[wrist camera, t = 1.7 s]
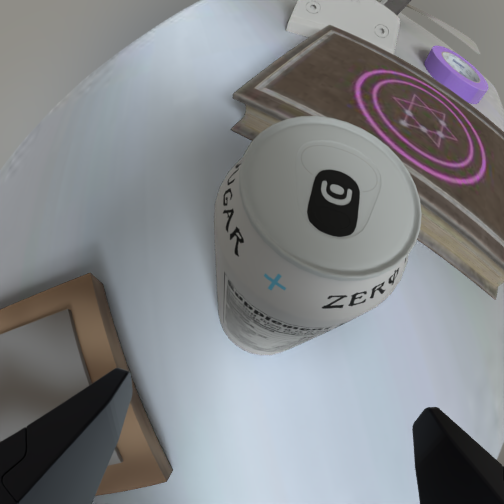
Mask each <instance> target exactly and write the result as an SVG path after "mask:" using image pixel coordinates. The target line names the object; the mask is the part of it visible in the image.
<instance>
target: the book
mask: <svg viewBox="0 0 504 504" xmlns="http://www.w3.org/2000/svg"><path fill="white" fill-rule="evenodd" d="M233 99H235V100H238V101H240V102H242V103H244V104H246V112H245V116H244V117H243V118H242V119H241V120H240V121H239V122H238V123H237V124H236V125H235V126H234V127H233V128H231V130H232V131H234V132H236V133H238V134H240V135H242V136H244V137H246V138H248V139H250V140H252V141H253V140H254V139H255V138H256V137H257V136H258V135H259V134H260V133H261V132H262V131H263V130H265V129H267V128H268V127H270V126H271V125H273V124H275V123H278V122H280V121H283V120H285V119H289V118H295V117H300V116H321V117H328V118H334V119H338V120H341V121H345V122H348V123H350V124H353V125H355V126H357V127H359V128H362V129H364V130H365V131H367V132H369V133H370V134H372V135H374V136H375V137H377V138H378V139H379V140H380V141H382V142H383V143H384V144H385V145H387V146H388V147H389V148H390V149H391V150H392V151H393V152H394V153H395V154H396V155H397V156H398V158H399V159H400V160H401V161H402V163H403V164H404V166H405V167H406V168H407V170H408V171H409V173H410V175H411V177H412V179H413V181H414V183H415V185H416V188H417V192H418V195H419V198H420V204H421V213H422V216H421V227H420V232H419V235H418V238H417V240H418V241H420V242H421V243H423V244H424V245H425V246H427V247H428V248H430V249H431V250H432V251H434V252H435V253H436V254H438V255H439V256H441V257H442V258H443V259H445V260H446V261H447V262H449V263H450V264H451V265H452V266H454V267H455V268H456V269H458V270H459V271H460V272H462V273H463V274H464V275H465V276H467V277H468V278H469V279H470V280H472V281H473V282H474V283H475V284H477V285H478V286H479V287H480V288H482V289H483V290H484V291H485V292H486V293H488V294H489V295H490V296H491V297H492V298H494V299H495V300H496V296H497V290H498V286H499V285H500V284H502V283H504V132H503V131H502V130H501V129H500V128H498V127H497V126H496V125H495V124H494V123H493V122H491V121H490V120H489V119H488V118H487V117H485V116H484V115H483V114H482V113H481V112H479V111H478V110H477V109H475V108H474V107H473V106H472V105H470V104H469V103H468V102H466V101H465V100H464V99H462V98H461V97H460V96H458V95H457V94H455V93H454V92H453V91H451V90H450V89H448V88H447V87H445V86H444V85H443V84H441V83H440V82H438V81H437V80H435V79H434V78H432V77H430V76H429V75H427V74H426V73H424V72H422V71H421V70H419V69H418V68H416V67H414V66H413V65H411V64H409V63H407V62H406V61H404V60H402V59H400V58H399V57H397V56H395V55H393V54H391V53H389V52H388V51H386V50H384V49H382V48H380V47H378V46H376V45H374V44H372V43H370V42H368V41H366V40H364V39H362V38H359V37H357V36H355V35H353V34H351V33H348V32H346V31H344V30H342V29H339V28H337V27H334V26H332V25H328V26H326V27H325V28H323V29H322V30H320V31H318V32H317V33H315V34H314V35H312V36H311V37H309V38H308V39H306V40H305V41H303V42H302V43H300V44H299V45H297V46H296V47H294V48H293V49H292V50H290V51H289V52H287V53H286V54H284V55H283V56H282V57H280V58H279V59H278V60H276V61H275V62H273V63H272V64H271V65H269V66H268V67H267V68H265V69H264V70H263V71H261V72H260V73H259V74H257V75H256V76H255V77H254V78H252V79H251V80H250V81H248V82H247V83H246V84H245V85H243V86H242V87H241V88H240V89H238V90H237V91H236V92H235V93H234V94H233Z"/></svg>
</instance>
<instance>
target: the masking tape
mask: <svg viewBox="0 0 504 504" xmlns="http://www.w3.org/2000/svg"><path fill="white" fill-rule="evenodd" d="M425 67H426V69H427V70H428V72H429V73H430V74H431V75H432V77H433V78H434V79H435V80H437V81H438V82H440V83H441V84H443V85H444V86H445V87H447V88H448V89H450V90H451V91H453V92H454V93H455V94H457V95H458V96H460V97H461V98H462V99H464V100H465V101H466V102H468V103H472V104H477V103H478V102H479V101H480V100H481V98H482V97H483V96H484V94H485V93H486V91H487V90H488V84H487V82H486V80H485V79H484V77H483V76H482V75H481V74H480V72H479V71H478V70H477V69H476V68H475V67H474V66H472V65H471V64H470V63H469V62H468V61H467V60H465V59H464V58H463V57H461V56H460V55H458V54H457V53H455V52H453V51H451V50H449V49H447V48H445V47H441V46H433V47H432V49H431V51H430V53H429V55H428V57H427V59H426V61H425Z"/></svg>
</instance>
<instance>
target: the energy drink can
mask: <svg viewBox="0 0 504 504" xmlns="http://www.w3.org/2000/svg"><path fill="white" fill-rule="evenodd" d="M421 216H422V213H421V204H420V198H419V195H418V192H417V188H416V185H415V183H414V181H413V179H412V177H411V175H410V173H409V171H408V170H407V168H406V167H405V166H404V164H403V163H402V161H401V160H400V159H399V158H398V156H397V155H396V154H395V153H394V152H393V151H392V150H391V149H390V148H389V147H388V146H387V145H385V144H384V143H383V142H382V141H380V140H379V139H378V138H377V137H375V136H374V135H372V134H370V133H369V132H367V131H365V130H364V129H362V128H359V127H357V126H355V125H353V124H350V123H348V122H345V121H341V120H338V119H334V118H328V117H321V116H300V117H295V118H289V119H285V120H283V121H280V122H278V123H275V124H273V125H271V126H270V127H268V128H267V129H265V130H263V131H262V132H261V133H260V134H259V135H258V136H257V137H256V138H255V139H254V140H253V141H252V142H251V143H250V145H249V147H248V148H247V150H246V152H245V154H244V156H243V158H241V159H240V160H239V161H238V162H237V163H236V164H235V166H234V167H233V168H232V169H231V170H230V171H229V172H228V174H227V175H226V177H225V179H224V181H223V182H222V184H221V186H220V188H219V192H218V195H217V199H216V202H215V212H214V235H215V257H216V277H217V295H218V311H219V318H220V323H221V325H222V328H223V330H224V332H225V333H226V335H227V336H228V338H229V339H230V340H231V341H232V342H233V343H234V344H235V345H236V346H238V347H239V348H241V349H243V350H244V351H247V352H250V353H252V354H257V355H273V354H278V353H281V352H283V351H286V350H288V349H290V348H293V347H295V346H297V345H299V344H302V343H304V342H306V341H308V340H311V339H313V338H315V337H317V336H319V335H321V334H324V333H326V332H328V331H330V330H332V329H334V328H336V327H338V326H340V325H342V324H344V323H347V322H349V321H351V320H353V319H355V318H357V317H359V316H361V315H362V314H364V313H366V312H368V311H370V310H372V309H373V308H375V307H377V306H378V305H379V304H381V303H382V302H383V301H384V300H385V299H386V298H387V297H388V296H389V295H390V294H391V293H392V292H393V290H394V289H395V287H396V286H397V284H398V283H399V281H400V280H401V277H402V275H403V272H404V270H405V267H406V264H407V260H408V255H409V253H410V251H411V250H412V248H413V247H414V245H415V244H416V241H417V238H418V235H419V232H420V227H421Z"/></svg>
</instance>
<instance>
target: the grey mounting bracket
mask: <svg viewBox="0 0 504 504" xmlns="http://www.w3.org/2000/svg"><path fill="white" fill-rule="evenodd" d="M328 25H332V26H334V27H337V28H339V29H342V30H344V31H346V32H348V33H351V34H353V35H355V36H357V37H359V38H362V39H364V40H366V41H368V42H370V43H372V44H374V45H376V46H378V47H380V48H382V49H384V50H386V51H388V52H389V53H391V54H393V55H394V52H395V47H396V42H397V37H398V32H399V27H400V19H399V17H398V16H397V15H396V14H395V13H393V12H392V11H391V10H390V9H388V8H387V7H386V6H384V5H383V4H381V3H379V2H378V1H376V0H298V1H297V3H296V6H295V8H294V10H293V12H292V15H291V17H290V19H289V22H288V25H287V29H286V31H288V32H291V33H295V34H299V35H302V36H306V37H311V36H312V35H314V34H315V33H317V32H318V31H320V30H322V29H323V28H325V27H326V26H328Z"/></svg>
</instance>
